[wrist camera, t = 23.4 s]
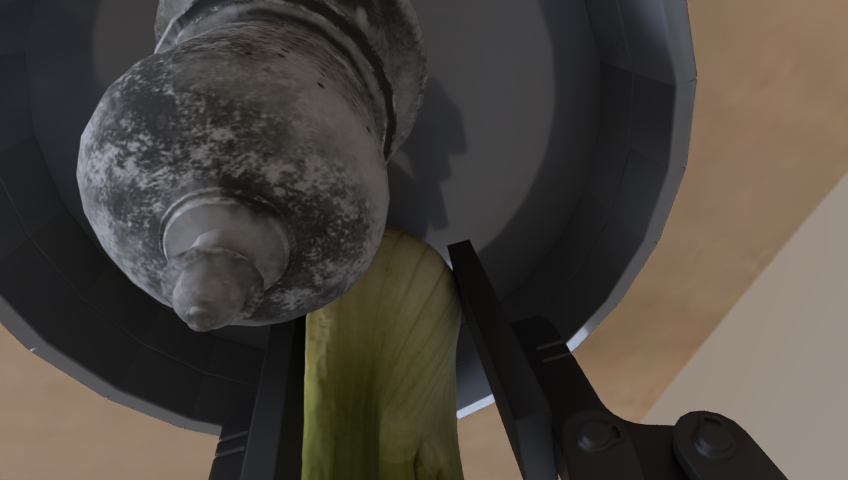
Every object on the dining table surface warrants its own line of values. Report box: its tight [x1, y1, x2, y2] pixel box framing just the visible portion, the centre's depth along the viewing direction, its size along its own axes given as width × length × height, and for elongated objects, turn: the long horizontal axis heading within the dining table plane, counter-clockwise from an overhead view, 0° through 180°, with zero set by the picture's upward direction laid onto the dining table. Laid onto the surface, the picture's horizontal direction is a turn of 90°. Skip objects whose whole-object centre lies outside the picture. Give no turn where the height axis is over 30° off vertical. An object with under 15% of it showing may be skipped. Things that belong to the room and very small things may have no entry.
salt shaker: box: [76, 0, 428, 332], centre depth 8 cm, size 6×6×12 cm
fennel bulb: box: [301, 225, 464, 480], centre depth 11 cm, size 6×5×12 cm
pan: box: [0, 0, 697, 436], centre depth 14 cm, size 19×19×4 cm
